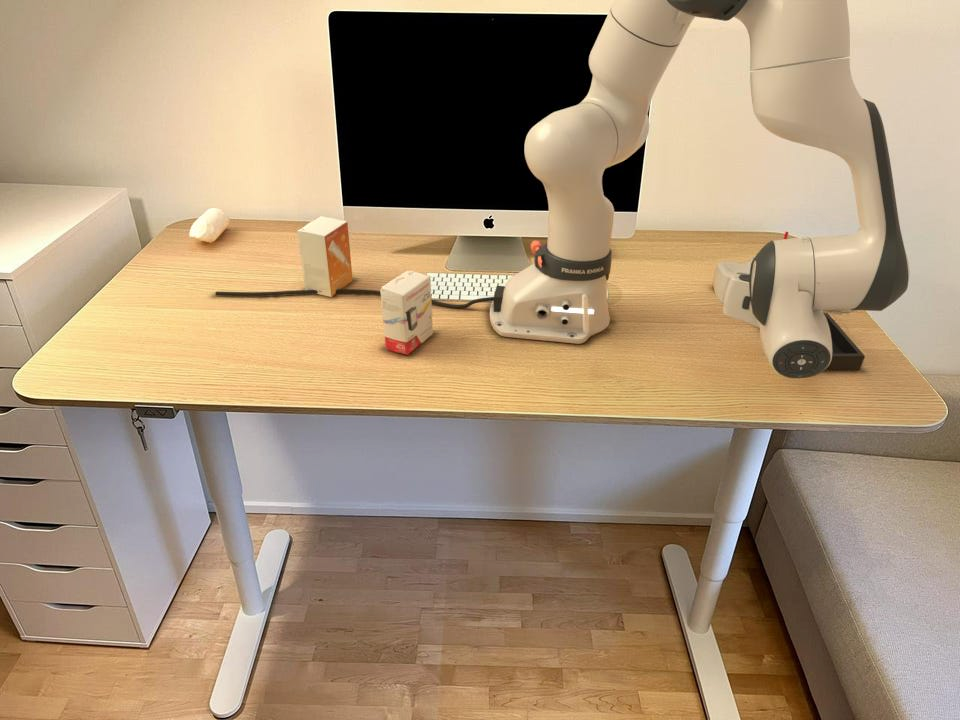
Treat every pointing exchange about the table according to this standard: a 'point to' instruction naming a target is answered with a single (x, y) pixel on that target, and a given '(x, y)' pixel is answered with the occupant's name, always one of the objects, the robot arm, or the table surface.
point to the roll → (209, 225)
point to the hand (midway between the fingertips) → (776, 264)
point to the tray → (843, 350)
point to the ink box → (407, 311)
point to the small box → (325, 255)
